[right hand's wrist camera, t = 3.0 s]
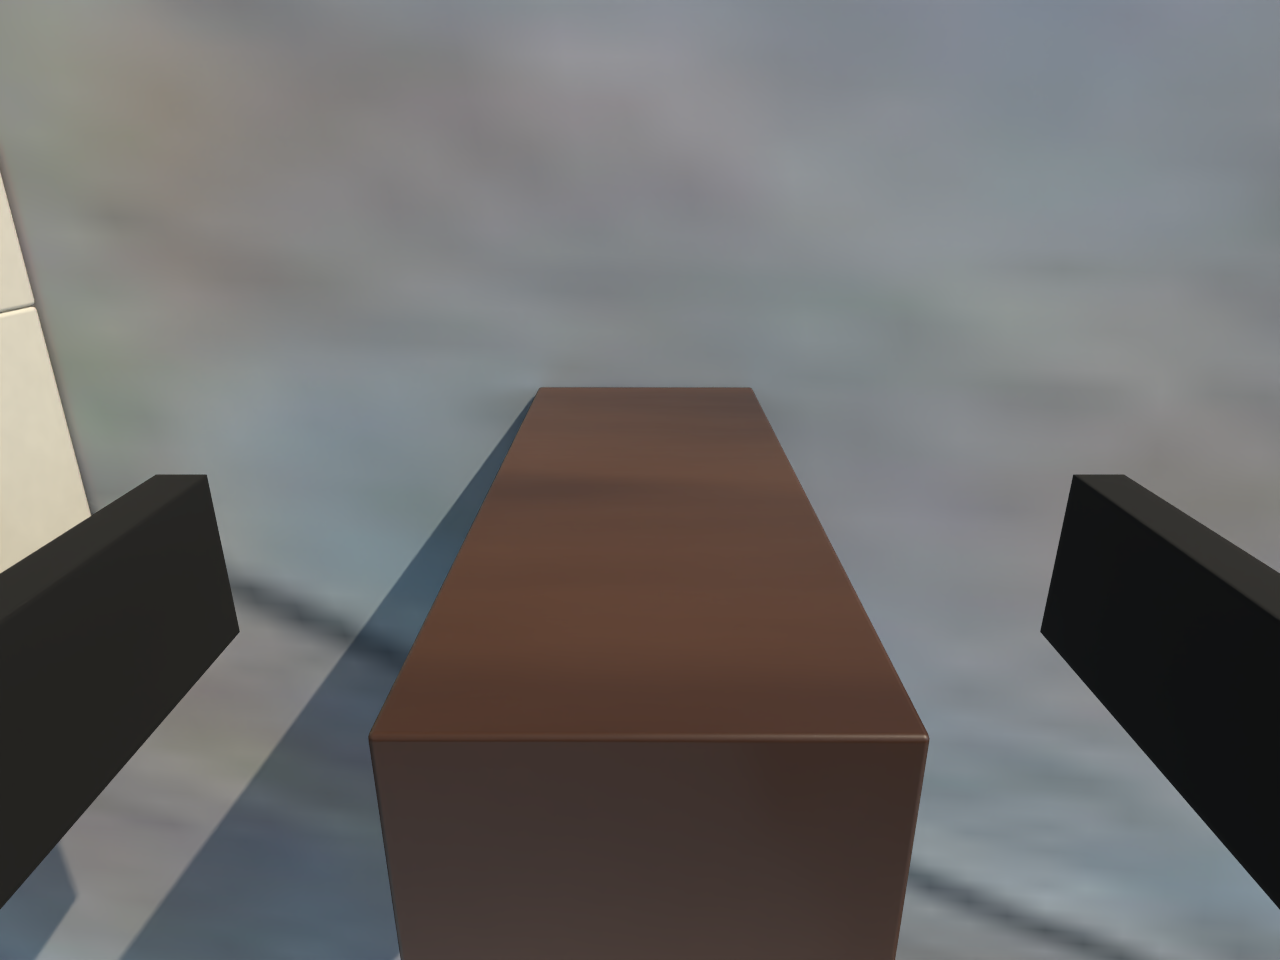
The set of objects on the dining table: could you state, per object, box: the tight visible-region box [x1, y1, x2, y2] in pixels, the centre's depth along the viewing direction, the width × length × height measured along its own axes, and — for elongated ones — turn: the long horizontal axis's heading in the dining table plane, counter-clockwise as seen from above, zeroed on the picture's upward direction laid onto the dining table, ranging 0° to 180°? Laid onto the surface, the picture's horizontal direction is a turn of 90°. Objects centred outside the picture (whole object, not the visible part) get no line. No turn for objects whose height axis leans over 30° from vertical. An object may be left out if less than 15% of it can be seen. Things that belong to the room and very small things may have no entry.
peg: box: [368, 388, 929, 960], centre depth 11 cm, size 4×4×10 cm
